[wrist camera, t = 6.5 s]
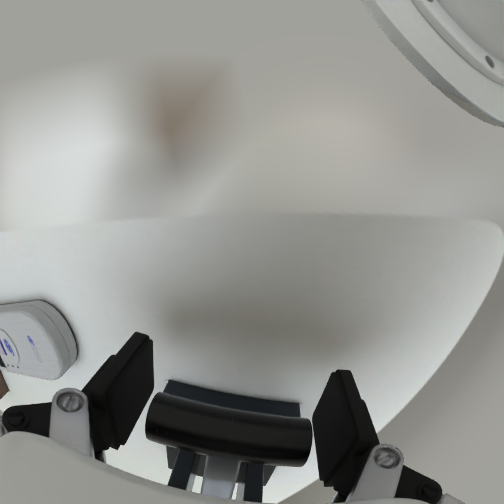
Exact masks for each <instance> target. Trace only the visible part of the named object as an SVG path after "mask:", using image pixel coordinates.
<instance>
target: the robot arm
mask: <svg viewBox="0 0 504 504" xmlns="http://www.w3.org/2000/svg"><path fill="white" fill-rule="evenodd" d="M411 1H412V2H413V3H414V5H415V6H416V7H417V9H418V10H419V11H420V13H421V14H422V15H423V16H424V17H425V19H426V20H427V21H428V22H429V23H430V25H431V26H432V27H433V28H434V29H435V30H436V31H437V32H438V33H439V34H440V35H441V37H442V38H443V39H444V40H445V41H446V42H447V43H448V44H449V45H450V46H451V47H452V48H453V49H454V50H455V51H456V52H457V53H458V54H459V55H460V56H462V57H463V58H464V59H465V60H466V61H467V62H468V63H470V64H471V65H472V66H473V67H474V68H476V69H477V70H478V71H480V72H481V73H482V74H484V75H485V76H486V77H488V78H490V79H491V80H493V81H495V82H497V83H499V84H502V85H504V0H411ZM153 389H154V370H153V341H152V340H151V339H149V336H148V335H146V334H142V333H139V332H135V333H134V334H133V335H132V336H131V338H130V339H129V340H128V341H127V342H126V343H125V345H124V346H123V347H122V348H121V349H120V351H119V352H118V353H117V354H116V355H111V356H110V357H109V358H108V359H107V361H106V362H105V363H104V364H103V365H102V366H101V368H100V369H99V370H98V371H97V372H96V374H95V375H94V376H93V377H92V378H91V380H90V381H89V382H88V383H87V384H86V386H85V387H84V388H83V389H82V391H80V390H78V389H75V388H64V389H61V390H59V391H58V392H56V394H55V395H54V396H53V399H52V402H49V403H40V404H31V405H19V406H12V407H9V408H8V409H6V410H5V411H4V413H3V415H2V416H0V504H273V503H259V502H249V501H240V500H233V499H226V498H220V497H214V496H209V495H204V494H199V493H194V492H190V491H186V490H182V489H178V488H174V487H170V486H167V485H163V484H160V483H157V482H154V481H150V480H147V479H144V478H141V477H139V476H136V475H133V474H130V473H128V472H125V471H123V470H120V469H118V468H115V467H113V466H110V465H108V464H107V463H106V457H105V450H108V449H109V447H111V448H114V449H116V450H118V448H119V447H120V445H125V443H126V442H127V440H128V438H129V436H130V434H131V432H132V430H133V428H134V426H135V424H136V422H137V420H138V419H139V417H140V415H141V413H142V411H143V409H144V407H145V405H146V403H147V402H148V400H149V398H150V396H151V394H152V392H153ZM312 423H313V430H314V438H315V446H316V454H317V462H318V470H319V478H320V480H321V481H324V487H332V486H333V487H334V490H335V491H336V493H335V495H334V497H333V498H332V501H331V502H330V503H329V504H465V503H463V502H461V501H460V500H458V499H456V498H454V497H452V496H451V495H449V494H447V493H446V494H445V495H443V494H442V489H441V486H440V485H439V484H438V483H437V482H436V481H434V480H432V479H430V478H428V477H426V476H424V475H422V474H420V473H418V472H416V471H414V470H412V469H410V468H408V467H406V466H405V465H403V463H404V457H403V454H402V452H401V451H400V450H399V449H398V448H396V447H395V446H393V445H390V444H380V443H379V440H378V437H377V434H376V431H375V428H374V426H373V423H372V420H371V417H370V414H369V412H368V409H367V406H366V403H365V402H364V400H362V399H361V397H360V394H359V391H358V389H357V386H356V383H355V381H354V378H353V375H352V373H351V371H350V370H340V369H338V370H336V372H332V373H331V375H330V378H329V380H328V382H327V385H326V387H325V389H324V391H323V394H322V396H321V398H320V400H319V402H318V405H317V407H316V409H315V411H314V413H313V417H312Z"/></svg>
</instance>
